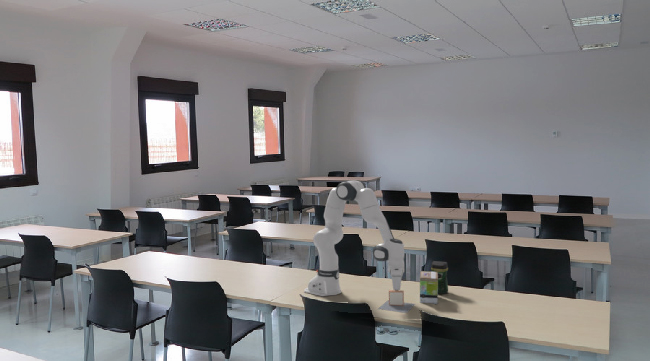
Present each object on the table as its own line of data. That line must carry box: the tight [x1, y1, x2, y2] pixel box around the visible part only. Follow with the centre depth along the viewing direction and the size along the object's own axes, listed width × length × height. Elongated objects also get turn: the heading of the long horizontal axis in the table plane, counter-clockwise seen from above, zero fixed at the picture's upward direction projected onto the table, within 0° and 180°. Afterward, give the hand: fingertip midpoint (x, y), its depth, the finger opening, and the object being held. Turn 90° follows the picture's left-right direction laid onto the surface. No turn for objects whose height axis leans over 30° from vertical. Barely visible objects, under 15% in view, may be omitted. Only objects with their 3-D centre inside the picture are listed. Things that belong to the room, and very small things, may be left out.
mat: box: [377, 299, 416, 314], centre depth 282 cm, size 16×16×1 cm
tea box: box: [419, 270, 439, 305], centre depth 294 cm, size 15×10×15 cm, turn 168°
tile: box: [388, 289, 405, 306], centre depth 284 cm, size 2×8×8 cm, turn 83°
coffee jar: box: [430, 260, 449, 295], centre depth 307 cm, size 10×8×19 cm
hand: (396, 293), depth 286 cm, fingers closed
